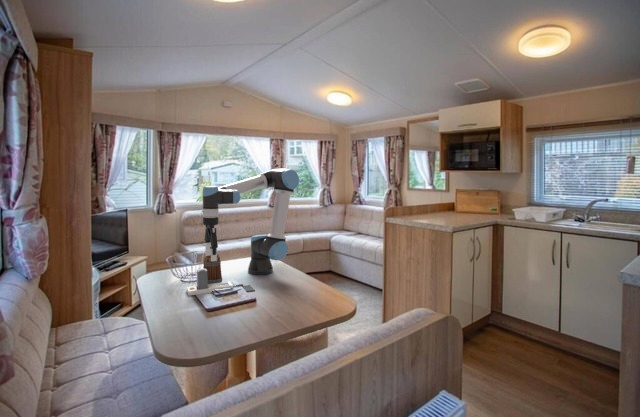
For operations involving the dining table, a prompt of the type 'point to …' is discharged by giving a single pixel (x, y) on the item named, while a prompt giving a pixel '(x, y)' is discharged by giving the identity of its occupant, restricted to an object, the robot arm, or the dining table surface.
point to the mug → (213, 269)
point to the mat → (248, 288)
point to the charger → (202, 279)
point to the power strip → (209, 288)
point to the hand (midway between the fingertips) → (211, 258)
